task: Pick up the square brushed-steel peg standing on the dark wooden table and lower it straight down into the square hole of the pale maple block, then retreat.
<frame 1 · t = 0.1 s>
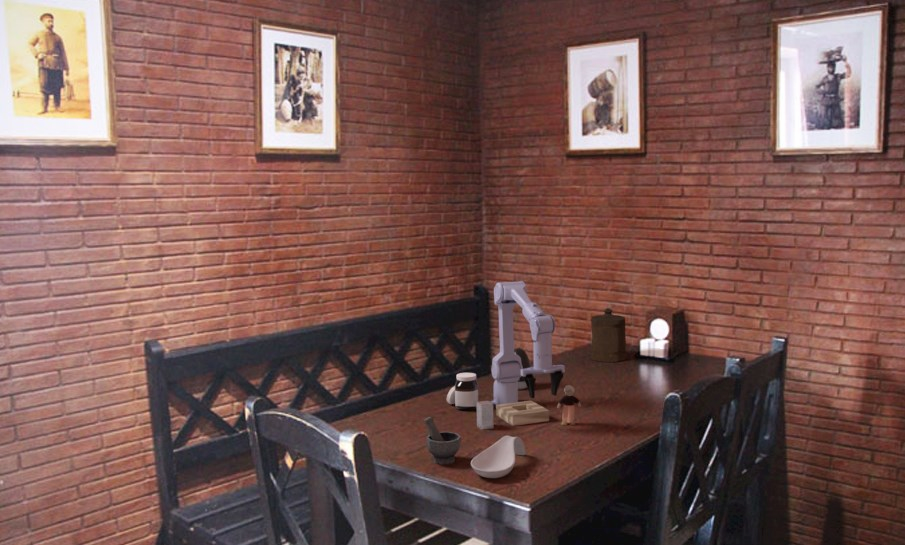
hand: (543, 396, 254), 10 cm above the table, fingers open, 7 cm apart
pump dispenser: (519, 388, 305), on the table
maple hole block: (522, 418, 266), on the table
steel peg: (485, 427, 257), on the table
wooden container: (608, 359, 350), on the table
spread jar: (462, 407, 281), on the table
spoon rest: (501, 468, 221), on the table
mortar and pestle: (442, 460, 227), on the table
grandmother figurine: (569, 424, 258), on the table
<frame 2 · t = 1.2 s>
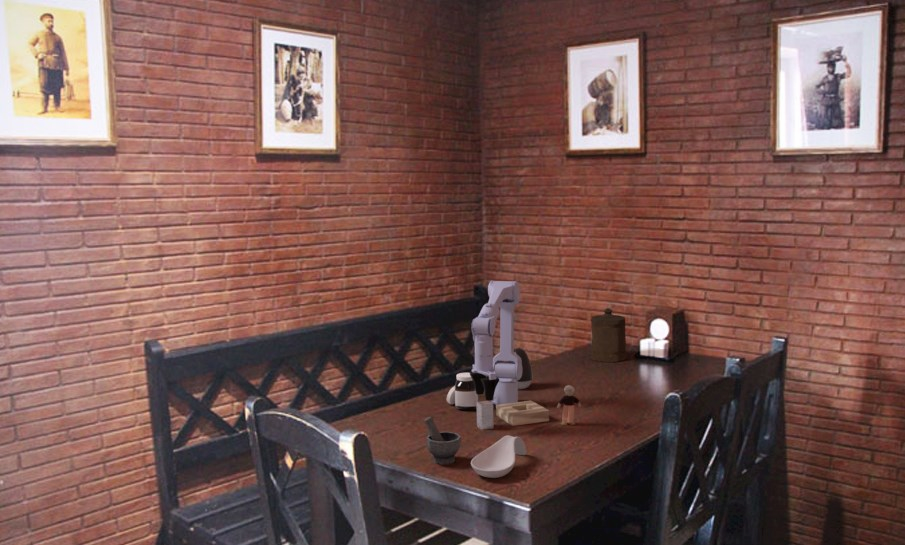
hand: (484, 397, 256), 10 cm above the table, fingers open, 7 cm apart
nothing on the table moved.
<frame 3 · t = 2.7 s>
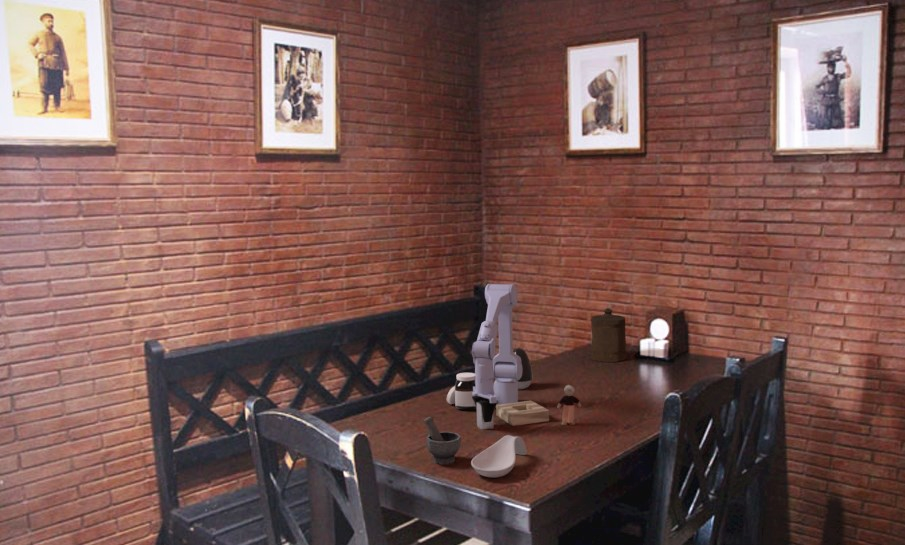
hand: (485, 419, 257), 2 cm above the table, fingers closed on steel peg, 4 cm apart
steel peg: (485, 427, 257), on the table, touching gripper
everything else where it was.
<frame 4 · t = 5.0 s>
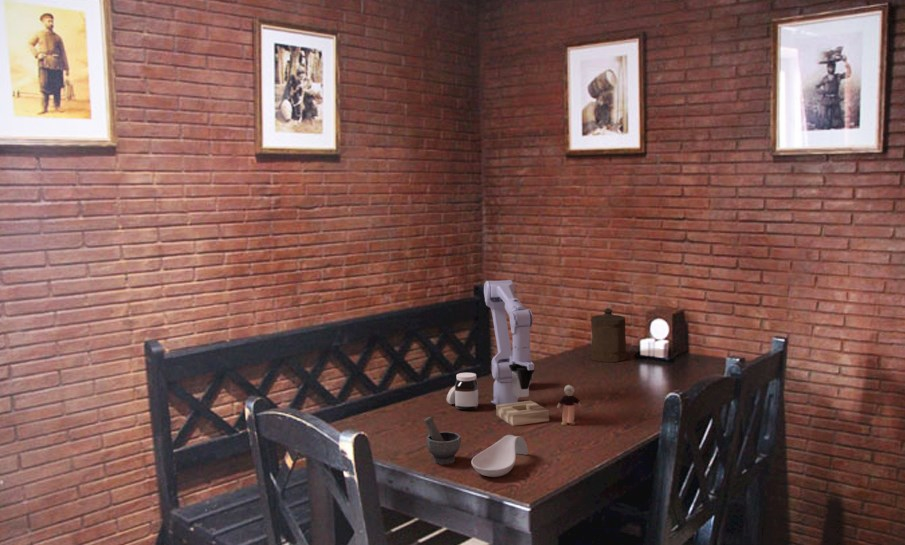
hand: (521, 387, 265), 10 cm above the table, fingers closed on steel peg, 4 cm apart
steel peg: (520, 395, 265), point 8 cm above the table, touching gripper
everything else where it was.
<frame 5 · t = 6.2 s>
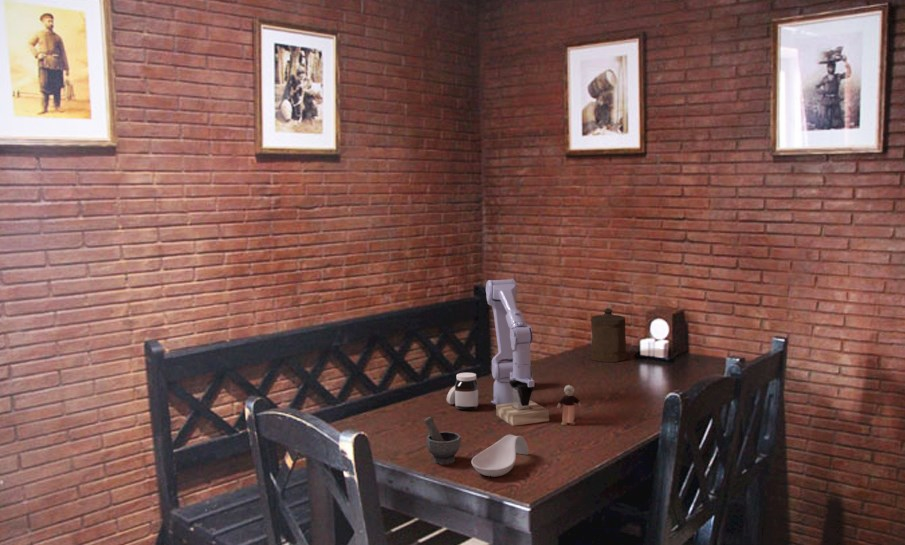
hand: (522, 403, 265), 5 cm above the table, fingers closed on steel peg, 4 cm apart
steel peg: (521, 411, 265), point 2 cm above the table, touching gripper
when the fingers open (4 cm above the table, at t = 7.3 s): steel peg drops 1 cm, resting in maple hole block.
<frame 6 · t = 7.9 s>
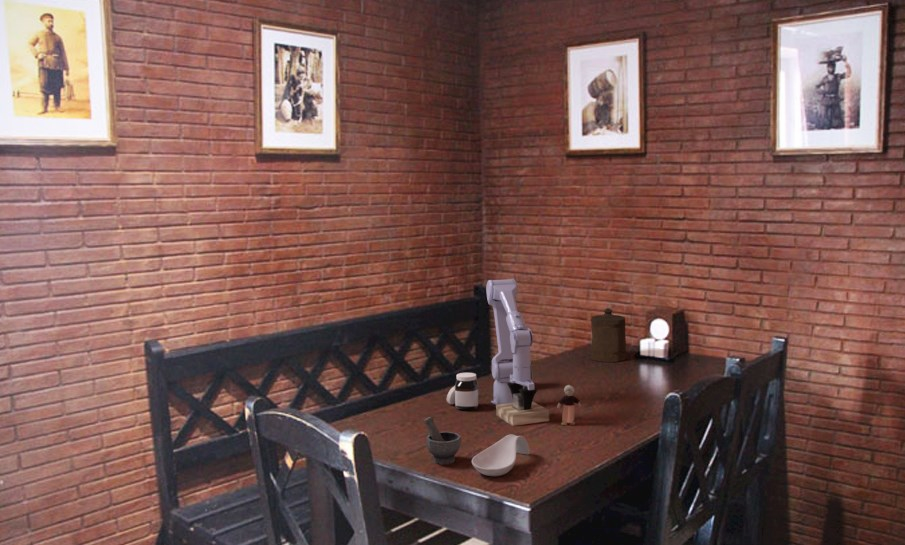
hand: (522, 406, 265), 4 cm above the table, fingers open, 7 cm apart
steel peg: (521, 418, 266), resting in maple hole block
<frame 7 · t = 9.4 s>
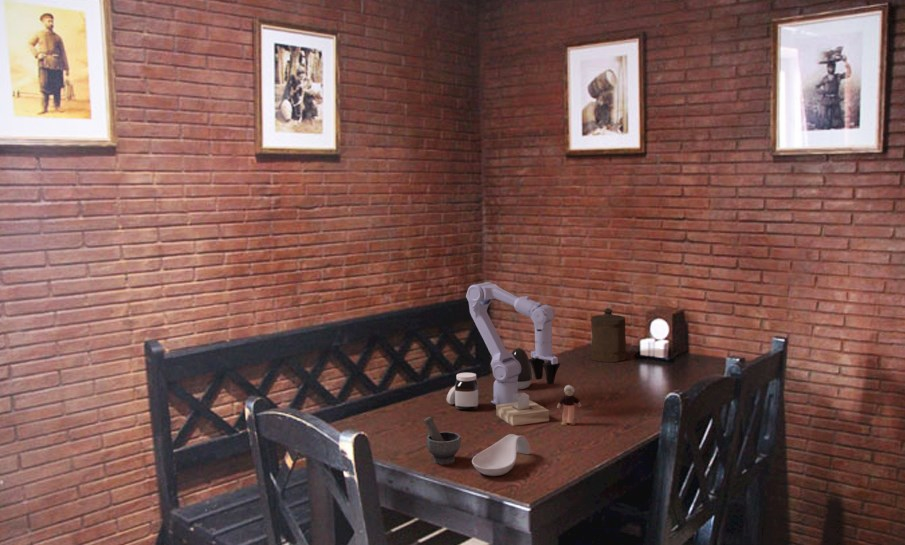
hand: (544, 381, 272), 10 cm above the table, fingers open, 7 cm apart
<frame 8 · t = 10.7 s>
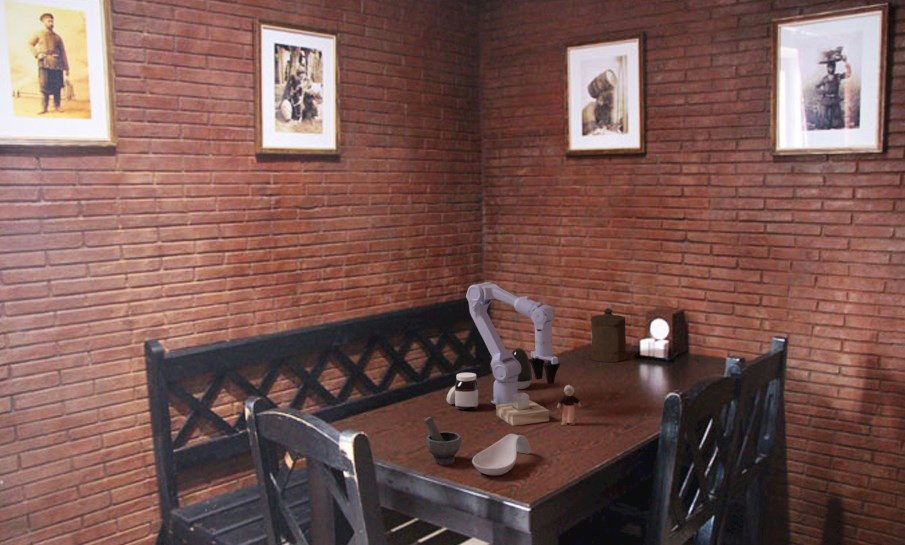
hand: (544, 381, 272), 10 cm above the table, fingers open, 7 cm apart
at the end: steel peg 0.4 cm off-centre on the maple hole block, point 0.0 cm above the maple hole block's base; steel peg tilted 0°; the gripper is holding nothing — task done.
